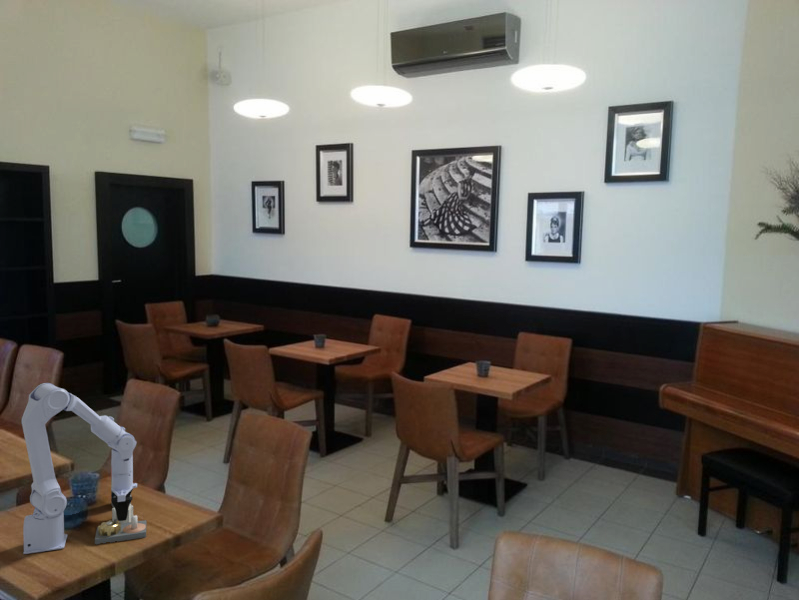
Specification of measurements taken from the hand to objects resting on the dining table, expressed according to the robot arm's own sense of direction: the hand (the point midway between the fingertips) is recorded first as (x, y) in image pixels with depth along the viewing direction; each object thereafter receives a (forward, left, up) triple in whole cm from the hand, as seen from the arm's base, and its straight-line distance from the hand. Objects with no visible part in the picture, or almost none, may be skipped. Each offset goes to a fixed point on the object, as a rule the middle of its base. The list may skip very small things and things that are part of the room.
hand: (122, 515), depth 180 cm
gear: (-3, -9, 0) cm, 10 cm away
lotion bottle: (-1, +13, -2) cm, 13 cm away
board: (0, -9, -2) cm, 9 cm away
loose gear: (0, 0, -1) cm, 1 cm away
